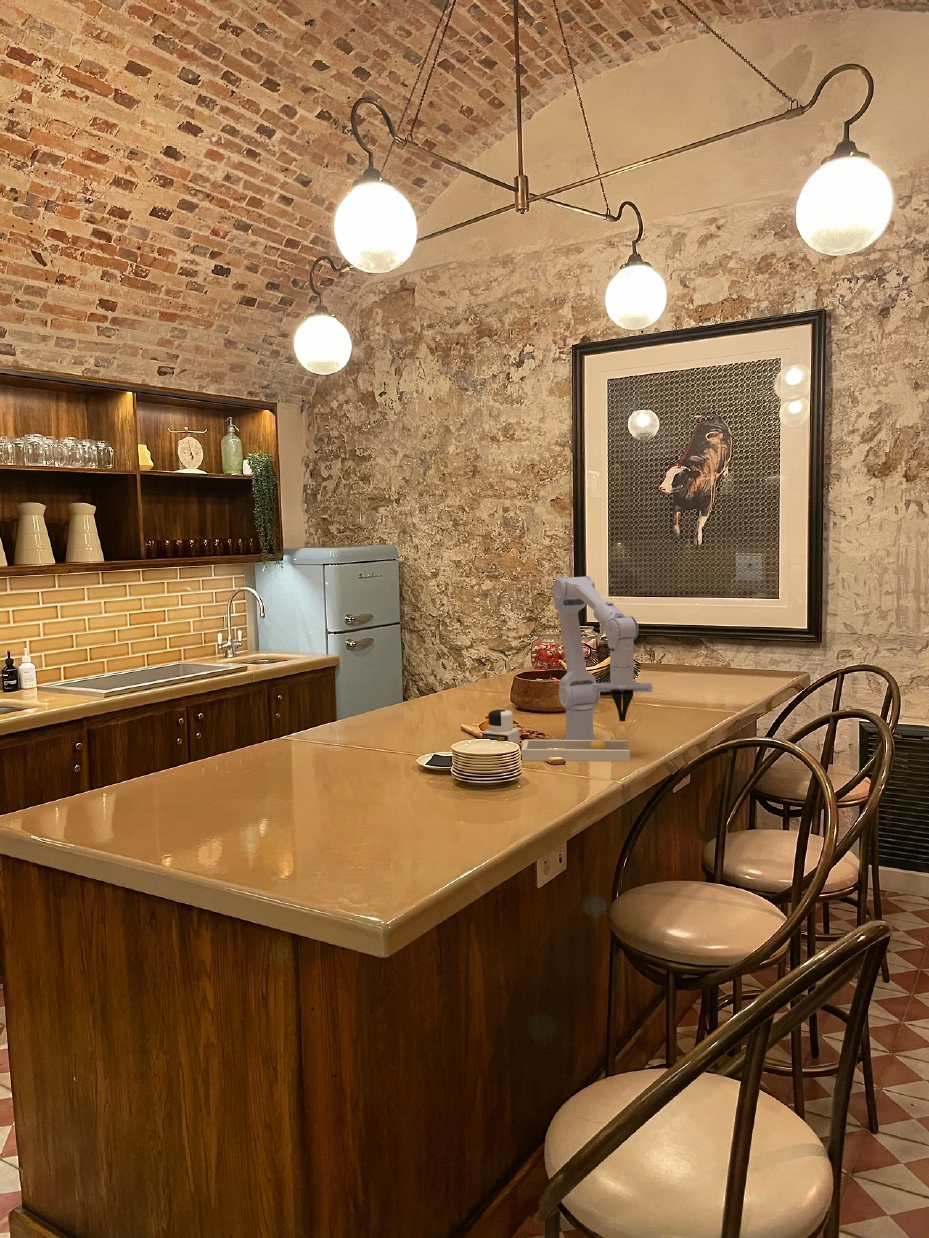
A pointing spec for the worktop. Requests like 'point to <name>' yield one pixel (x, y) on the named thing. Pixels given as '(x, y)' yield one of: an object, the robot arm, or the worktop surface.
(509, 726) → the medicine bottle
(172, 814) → the worktop surface
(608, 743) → the lane
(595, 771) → the worktop surface
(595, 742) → the ball
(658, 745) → the worktop surface
